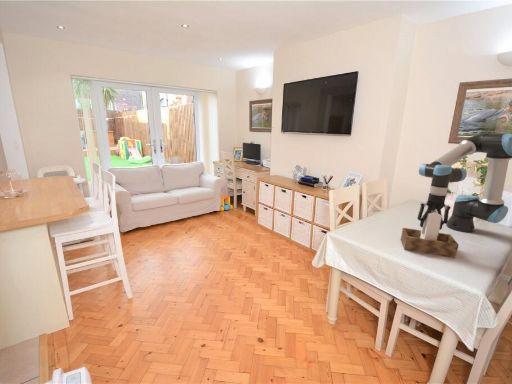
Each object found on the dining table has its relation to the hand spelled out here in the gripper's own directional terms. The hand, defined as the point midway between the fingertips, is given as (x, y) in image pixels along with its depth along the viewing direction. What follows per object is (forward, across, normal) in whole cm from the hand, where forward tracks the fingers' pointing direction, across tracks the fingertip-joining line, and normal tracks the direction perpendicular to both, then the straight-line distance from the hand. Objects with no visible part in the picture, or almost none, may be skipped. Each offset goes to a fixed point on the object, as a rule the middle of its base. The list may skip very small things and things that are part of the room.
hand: (429, 233), depth 143 cm
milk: (+7, 0, 0) cm, 7 cm away
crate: (+9, 0, 0) cm, 9 cm away
